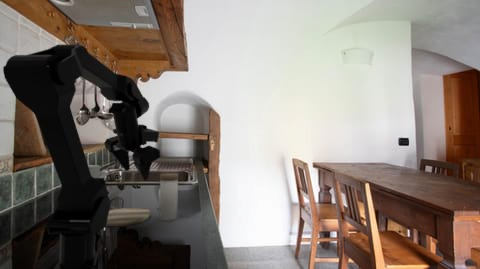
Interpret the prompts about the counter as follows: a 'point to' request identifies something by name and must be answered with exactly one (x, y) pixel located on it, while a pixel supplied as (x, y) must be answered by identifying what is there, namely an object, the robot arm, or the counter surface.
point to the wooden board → (127, 216)
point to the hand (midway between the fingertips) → (136, 174)
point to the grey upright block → (159, 199)
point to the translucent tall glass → (168, 196)
